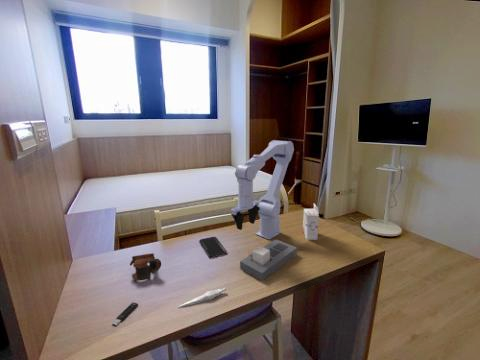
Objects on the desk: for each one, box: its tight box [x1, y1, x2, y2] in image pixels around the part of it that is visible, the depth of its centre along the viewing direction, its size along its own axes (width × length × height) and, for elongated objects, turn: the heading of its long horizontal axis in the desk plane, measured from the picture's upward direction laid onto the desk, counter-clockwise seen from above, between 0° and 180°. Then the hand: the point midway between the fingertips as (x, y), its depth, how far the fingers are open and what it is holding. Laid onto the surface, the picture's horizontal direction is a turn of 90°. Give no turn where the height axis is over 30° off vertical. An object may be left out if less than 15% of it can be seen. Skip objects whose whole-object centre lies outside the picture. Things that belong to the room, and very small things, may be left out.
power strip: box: [239, 239, 298, 281], centre depth 92 cm, size 22×10×3 cm, turn 136°
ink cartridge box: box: [302, 202, 320, 241], centre depth 110 cm, size 9×5×15 cm, turn 179°
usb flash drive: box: [111, 301, 139, 327], centre depth 68 cm, size 8×2×1 cm, turn 161°
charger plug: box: [252, 245, 270, 266], centre depth 88 cm, size 4×4×6 cm
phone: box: [198, 236, 228, 259], centre depth 102 cm, size 8×1×15 cm
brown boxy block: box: [129, 252, 162, 282], centre depth 86 cm, size 12×10×8 cm
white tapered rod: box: [177, 287, 227, 309], centre depth 73 cm, size 15×3×2 cm, turn 115°
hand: (245, 225), depth 101 cm, fingers open, 7 cm apart
